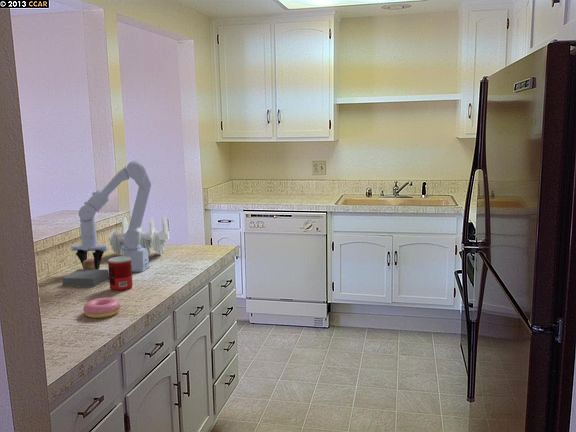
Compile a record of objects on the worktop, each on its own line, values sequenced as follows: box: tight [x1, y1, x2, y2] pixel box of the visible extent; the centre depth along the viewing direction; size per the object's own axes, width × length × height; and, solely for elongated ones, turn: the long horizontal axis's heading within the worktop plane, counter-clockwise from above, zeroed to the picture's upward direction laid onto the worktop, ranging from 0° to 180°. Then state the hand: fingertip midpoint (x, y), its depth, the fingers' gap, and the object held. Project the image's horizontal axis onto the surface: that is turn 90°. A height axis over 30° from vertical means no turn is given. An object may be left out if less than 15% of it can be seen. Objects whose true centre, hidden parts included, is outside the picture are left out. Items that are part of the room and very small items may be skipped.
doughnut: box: [82, 297, 121, 319], centre depth 161 cm, size 11×11×4 cm
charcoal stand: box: [61, 268, 109, 288], centre depth 195 cm, size 12×12×3 cm
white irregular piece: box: [108, 216, 170, 256], centre depth 234 cm, size 18×18×25 cm
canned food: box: [107, 255, 134, 292], centre depth 185 cm, size 8×8×11 cm
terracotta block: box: [82, 258, 101, 270], centre depth 207 cm, size 4×4×5 cm
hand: (91, 268), depth 207 cm, fingers closed on terracotta block, 4 cm apart
